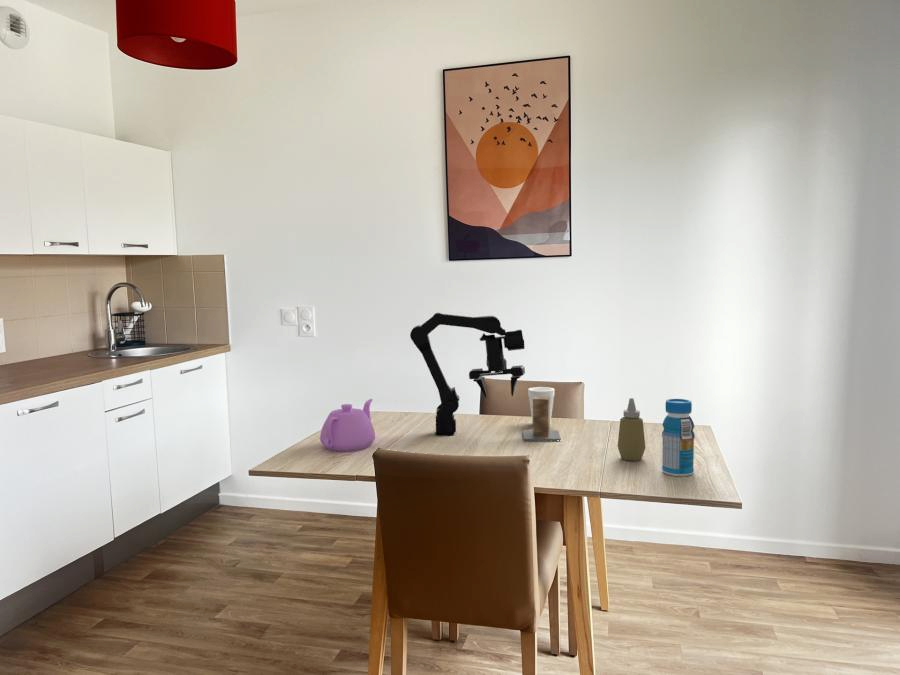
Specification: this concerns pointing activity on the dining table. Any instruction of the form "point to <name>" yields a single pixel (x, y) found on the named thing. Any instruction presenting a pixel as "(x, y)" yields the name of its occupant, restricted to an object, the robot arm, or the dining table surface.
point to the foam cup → (542, 393)
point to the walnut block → (541, 416)
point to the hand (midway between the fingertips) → (499, 396)
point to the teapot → (348, 429)
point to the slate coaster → (552, 436)
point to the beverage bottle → (678, 438)
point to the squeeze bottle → (631, 434)
